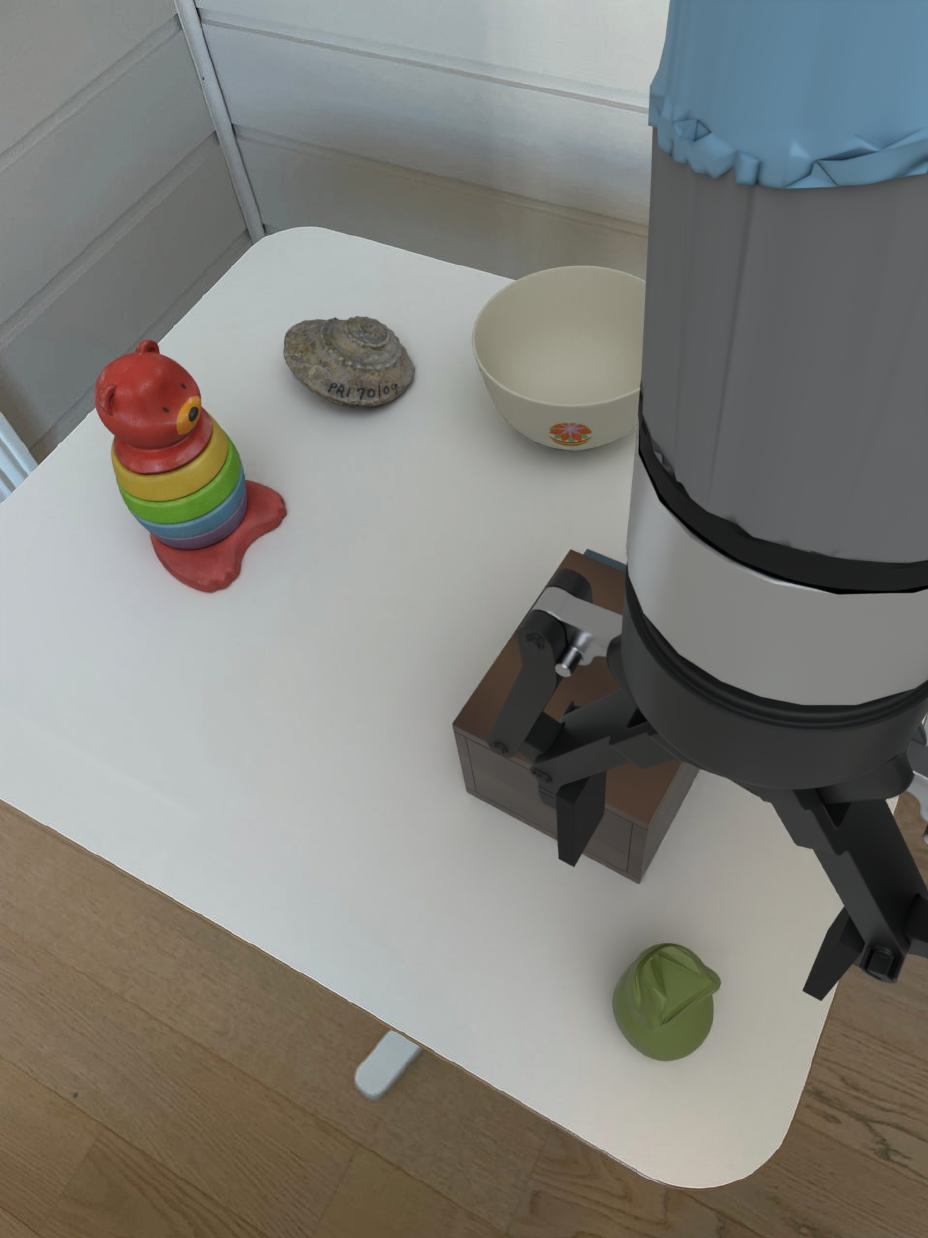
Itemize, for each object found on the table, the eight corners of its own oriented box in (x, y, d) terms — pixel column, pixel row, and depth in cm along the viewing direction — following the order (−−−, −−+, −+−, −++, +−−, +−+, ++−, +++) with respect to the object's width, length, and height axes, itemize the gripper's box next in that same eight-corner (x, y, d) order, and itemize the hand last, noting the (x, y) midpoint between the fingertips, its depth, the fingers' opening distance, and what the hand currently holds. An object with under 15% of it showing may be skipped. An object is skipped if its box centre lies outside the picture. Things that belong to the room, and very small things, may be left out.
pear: (669, 953, 61) (683, 899, 52) (728, 1031, 58) (753, 987, 50) (594, 1007, 59) (597, 960, 51) (651, 1089, 57) (663, 1054, 48)
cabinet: (571, 629, 74) (570, 548, 66) (734, 703, 70) (755, 625, 61) (466, 792, 68) (451, 723, 60) (639, 884, 63) (648, 824, 55)
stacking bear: (219, 601, 79) (137, 441, 64) (122, 557, 82) (23, 396, 67) (297, 505, 83) (237, 335, 69) (202, 467, 87) (126, 298, 72)
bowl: (698, 387, 87) (711, 291, 78) (627, 519, 79) (632, 430, 71) (530, 341, 92) (526, 247, 84) (449, 461, 85) (435, 371, 76)
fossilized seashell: (360, 427, 85) (333, 349, 81) (279, 419, 92) (250, 347, 88) (436, 371, 91) (414, 296, 87) (355, 367, 98) (331, 298, 94)
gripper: (1419, 646, 20) (1013, 958, 38) (457, 320, 28) (505, 708, 46) (1369, 985, 17) (952, 1148, 35) (296, 506, 25) (416, 843, 43)
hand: (697, 897), depth 41 cm, fingers open, 10 cm apart
